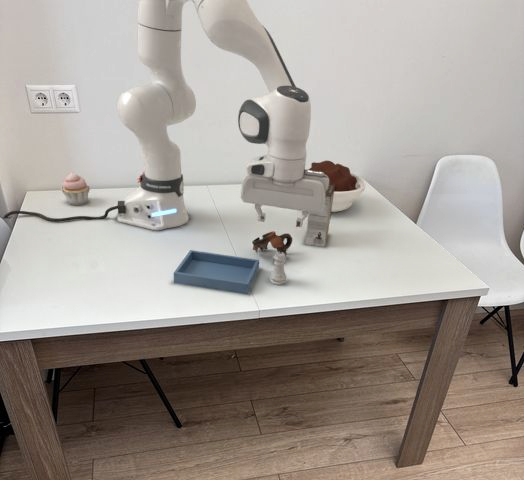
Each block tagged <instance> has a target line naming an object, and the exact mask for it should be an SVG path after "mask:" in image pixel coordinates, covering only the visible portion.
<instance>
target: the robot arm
mask: <svg viewBox="0 0 524 480" xmlns="http://www.w3.org/2000/svg"><path fill="white" fill-rule="evenodd" d="M187 2H193V4H194V7H195V11H196V14H197V16H198V19H199V22H200V25H201V27H202V30H203V32H204V33H205V35H206V36H207V39H209V41H210V42H211V43H212V44H213V45H214V46H216V47H217V48H219V49H221V50H223V51H224V52H225V51H226V52H229V53H232V54H234V55H237V56H240V57H242V58H243V59H246V60H248V61H249V62H250V63H252V64H253V65H254V66H255V68H257V70H258V71H259V74H260V76H261V77H262V79H263V81H264V83H265V85H266V87H267V89H268V92H269V93H267V94H265V95H260V96H256V97H251V98H249V99H246V100H244V101H243V103H241V106H240V107H239V110H238V115H237V123H238V124H237V125H238V129H239V132H240V134H241V136H242V137H243V139H245V140H246V141H247V142H248V143H251V144H255V145H266V146H267V154H264V155H259V156H254V157H253V158H251V159H250V160H249V161H248V163H247V165H246V173H245V175H244V177H243V178H242V182H241V188H240V200H241V201H242V202H243V203H245V204H247V203H248V204H253V205H254V210H255V211H256V213H257V215H258V219H257V221H258V222H259V223H260V222H261V223H265V221H266V218H267V217H266V215H267V213H266V212H263V209H262V206H265V207H266V206H267V207H273V208H280V209H288V210H294V211H300V212H301V215H302V216H301V217H297V219H296V222H295V228H303V224H304V221H305V220H306V218H308V213H309V212H313V213H320V212H322V211H323V209H324V205H325V192H326V191H327V190H328V187H329V178H328V176H327V175H325V174H324V173H323V172H316V171H312V170H306V165H307V163H306V162H307V156H308V155H307V143H308V139H309V136H310V130H311V129H310V128H311V121H312V119H311V118H312V106H311V99H310V95H309V94H308V93H307V92H306V91H305V90H304V89H302V88H300V87H297V86H296V84H295V82H294V80H293V78H292V76H291V74H290V72H289V69H288V68H287V65H286V63H285V61H284V59H283V58H282V54H281V53H280V51H279V49H278V47H277V44H276V42H275V41H274V38H273V37H272V35H271V34H270V32H269V31H268V30H267V28H266V27H265V26H264V25H263V24H262V23H261V21H260V20H259V19H258V17H256V15H255V13H254V11H253V10H252V8H251V6H250V4H249V2H248V0H138V3H137V55H138V58H139V60H140V62H141V63H142V64H143V65H144V66H146V67H147V68H148V70H149V72H150V77H151V82H150V84H146V85H140V86H134V87H132V88H130V89H128V90H127V91H124V92H122V94H120V96H119V98H118V100H117V113H118V117H119V119H120V121H121V123H122V124H123V125H124V126H125V128H127V129H128V130H130V131H131V132H132V134H134V136H135V137H136V139H137V141H138V143H139V146H140V149H141V154H142V161H143V170H144V171H143V172H142V174H140V175H139V177H138V178H137V183H138V184H139V183H140V184H139V186H138V187H137V188H135V189H134V190H133V191H132V192H130V193H129V194H128V195H127V196H126V198H125V200H117V205H116V206H111V207H109V208H107V209H106V210H105V211H104V214H103V215H101V216H87V215H77V216H68V217H60V218H55V217H54V218H53V217H49V216H47V215H44V214H42V213H39V212H35V211H25V210H11V211H9V212H7V213H6V214H4V215H3V216H2V218H3V219H7V218H8V217H10V216H12V215H28V216H34V217H35V216H36V217H38V218H41V219H43V220H46V221H48V222H67V221H74V220H91V221H92V220H93V221H94V220H104V219H106V218H107V217H108V215H109V213H110V212H112V211H114V210H117V216H116V217H117V218H116V219H117V222H120V223H123V224H127V225H131V226H136V227H140V228H143V229H147V230H152V231H162V230H165V229H169V228H177V227H180V226H183V225H185V224H186V223H188V222H189V219H190V218H189V215H188V212H187V207H186V204H185V197H184V193H185V182H184V175H183V173H182V158H181V156H182V154H181V150H180V147H179V145H177V144H176V143H175V142H174V141H172V140H171V139H170V136H169V134H168V126H173V125H176V124H180V123H182V122H184V121H186V120H187V119H189V118H191V117H192V116H193V115H194V113H195V111H196V107H197V99H196V95H195V93H194V91H193V89H192V88H191V86H190V85H189V84H188V83H187V81H186V78H185V76H184V75H185V74H184V71H183V67H182V31H183V28H182V27H183V8H184V6H185V4H186V3H187ZM304 174H305V175H304ZM323 176H325V177H323Z"/></svg>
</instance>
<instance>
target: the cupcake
mask: <svg viewBox="0 0 524 480" xmlns="http://www.w3.org/2000/svg"><path fill="white" fill-rule="evenodd" d="M90 187H91V186H90V185H88V183H87V182H86V180H85V178H84V177H82V175H81V176H80V175H78V174H77V173H75V172H74V171H71V172H70V173H69V174H68V175H67V176H66V177H65V179H64V181H63V182H62V186H61V187H60V191H61V192H62V193H63V195H64V197H65V199H66V201H67V203H68V204H69V205H71V206H82V205H85V204H87V203H88V201H89V192H90V190H91V188H90Z"/></svg>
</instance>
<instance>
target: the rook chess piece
mask: <svg viewBox="0 0 524 480" xmlns="http://www.w3.org/2000/svg"><path fill="white" fill-rule="evenodd" d="M274 259H275V260H274ZM286 260H287V255H286V256H285V253H283V252H282V254H281V253H280V252H278V251H277V252H275V254H274V255H273V261H274V262H273V264H274V266H273V271H271V273H270V276H269V281H270V282H271V283H272V284H273V285H276V286H282V285H285V283H287V275H286V271H285V264H286V262H285V261H286Z"/></svg>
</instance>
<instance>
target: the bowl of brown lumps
mask: <svg viewBox="0 0 524 480" xmlns="http://www.w3.org/2000/svg"><path fill="white" fill-rule="evenodd" d="M310 166H311V167H310V168H305V170H312V171H316V172H323V173H324V174H325V175H327V176H328V178H329V185H335V189H334V195H333V203H332V209H331V213H333V212H334V213H336V212H342V211H345V210H347V209H349V208H350V207H351V206H352V205H353V204H354V201H355V200H357V199H358V198H359V197H360V196H361V195H363V192H364V191H365V189H366V181H365V180H364V179H363V178H362V177H361V176H360V175H357V174H355V173H353V172H351V169H350V168H349V166H348V167H347V166H345V165H342V164H340V163H336V164H335V163H334V162H333V161H331V160H324V161H320V162H315V161H313V162H311V165H310ZM304 175H305V174H304ZM323 177H325V176H323Z"/></svg>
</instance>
